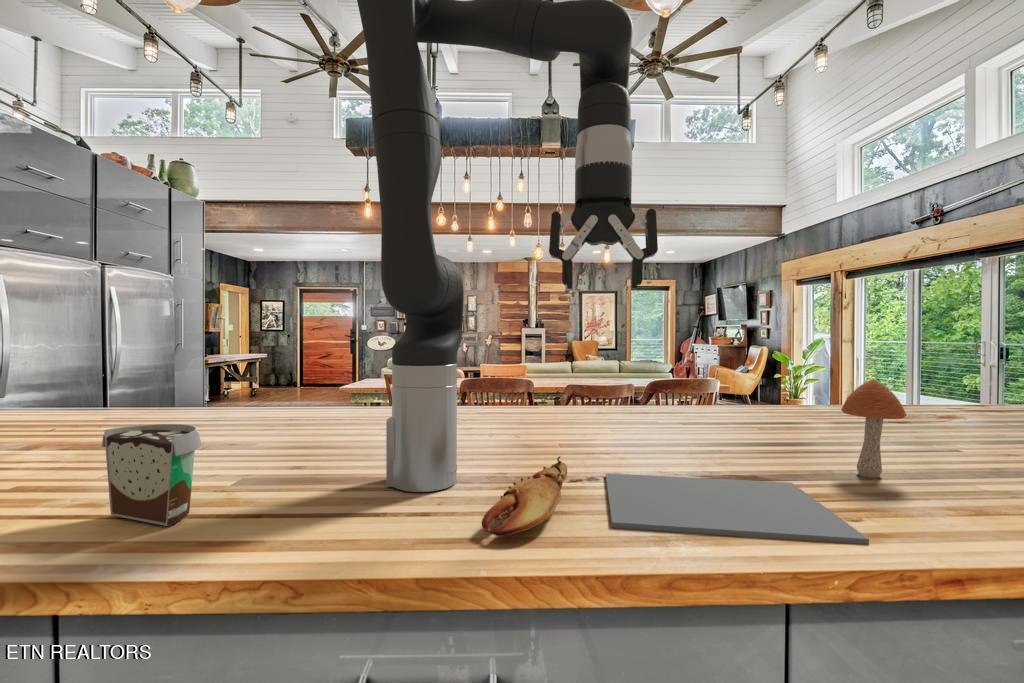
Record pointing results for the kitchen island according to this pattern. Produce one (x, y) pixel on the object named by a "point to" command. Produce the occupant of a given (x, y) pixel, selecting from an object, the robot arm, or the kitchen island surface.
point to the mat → (723, 508)
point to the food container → (151, 471)
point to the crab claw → (527, 501)
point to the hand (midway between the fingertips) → (601, 289)
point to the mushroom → (872, 421)
